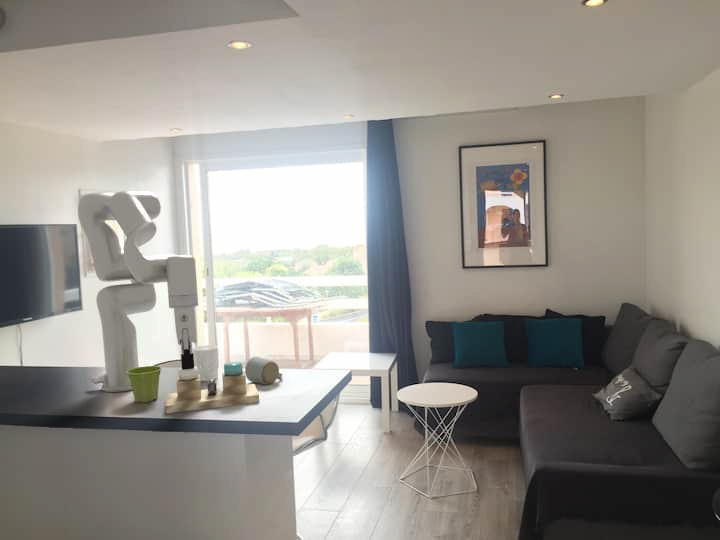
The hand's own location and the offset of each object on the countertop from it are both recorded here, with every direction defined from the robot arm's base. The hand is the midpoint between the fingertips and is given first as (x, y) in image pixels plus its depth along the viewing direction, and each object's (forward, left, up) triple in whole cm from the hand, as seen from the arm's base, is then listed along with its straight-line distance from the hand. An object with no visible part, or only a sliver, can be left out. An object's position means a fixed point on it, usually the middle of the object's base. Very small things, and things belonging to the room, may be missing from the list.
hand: (188, 368), depth 157 cm
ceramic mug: (+22, +15, -10) cm, 29 cm away
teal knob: (+12, 0, -8) cm, 14 cm away
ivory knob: (0, 0, -8) cm, 8 cm away
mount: (+6, 0, -10) cm, 12 cm away
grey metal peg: (+6, 0, -8) cm, 10 cm away
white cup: (+5, +27, -10) cm, 29 cm away
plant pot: (-12, +10, -10) cm, 19 cm away
